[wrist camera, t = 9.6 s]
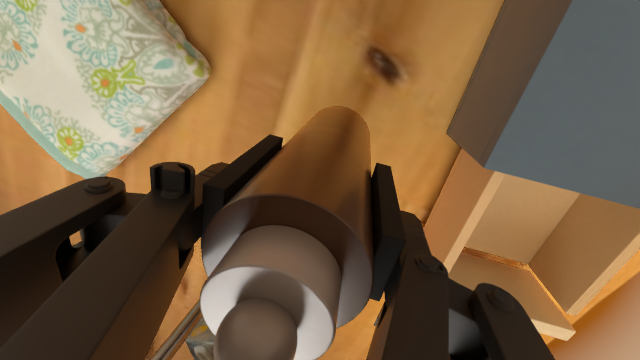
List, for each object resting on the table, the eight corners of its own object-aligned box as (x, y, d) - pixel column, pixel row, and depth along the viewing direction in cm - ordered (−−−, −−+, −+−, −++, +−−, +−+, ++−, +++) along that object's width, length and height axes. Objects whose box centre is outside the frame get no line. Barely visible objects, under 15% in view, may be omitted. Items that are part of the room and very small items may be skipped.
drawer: (502, 307, 29) (537, 371, 23) (392, 275, 30) (398, 329, 24) (629, 138, 21) (737, 169, 15) (473, 99, 22) (514, 114, 16)
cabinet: (600, 173, 23) (717, 229, 15) (445, 133, 24) (483, 168, 16) (784, -72, 16) (1173, -197, 8) (555, -118, 17) (715, -269, 9)
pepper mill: (312, 98, 20) (95, 242, 4) (378, 115, 20) (424, 341, 4) (300, 160, 23) (127, 411, 6) (359, 176, 22) (337, 482, 6)
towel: (31, -172, 20) (-70, -241, 15) (223, 73, 25) (190, 75, 20) (-41, 6, 27) (-126, -5, 22) (123, 171, 32) (81, 190, 27)
